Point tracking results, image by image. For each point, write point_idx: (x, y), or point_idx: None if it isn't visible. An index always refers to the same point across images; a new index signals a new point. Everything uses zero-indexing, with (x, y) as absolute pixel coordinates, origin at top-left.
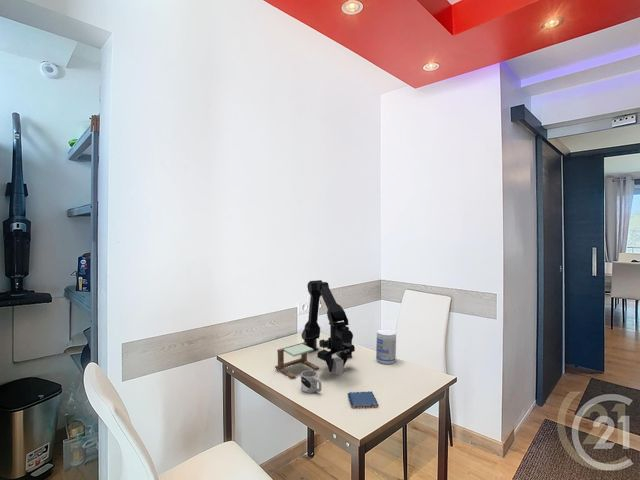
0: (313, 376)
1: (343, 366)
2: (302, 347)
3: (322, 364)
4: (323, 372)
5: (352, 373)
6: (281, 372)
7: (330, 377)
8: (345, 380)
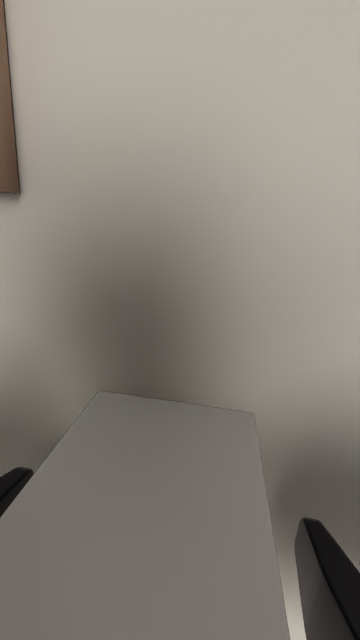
0: None
1: (305, 581)
2: None
3: (238, 18)
4: (19, 329)
5: (301, 613)
6: None
7: None
8: None
